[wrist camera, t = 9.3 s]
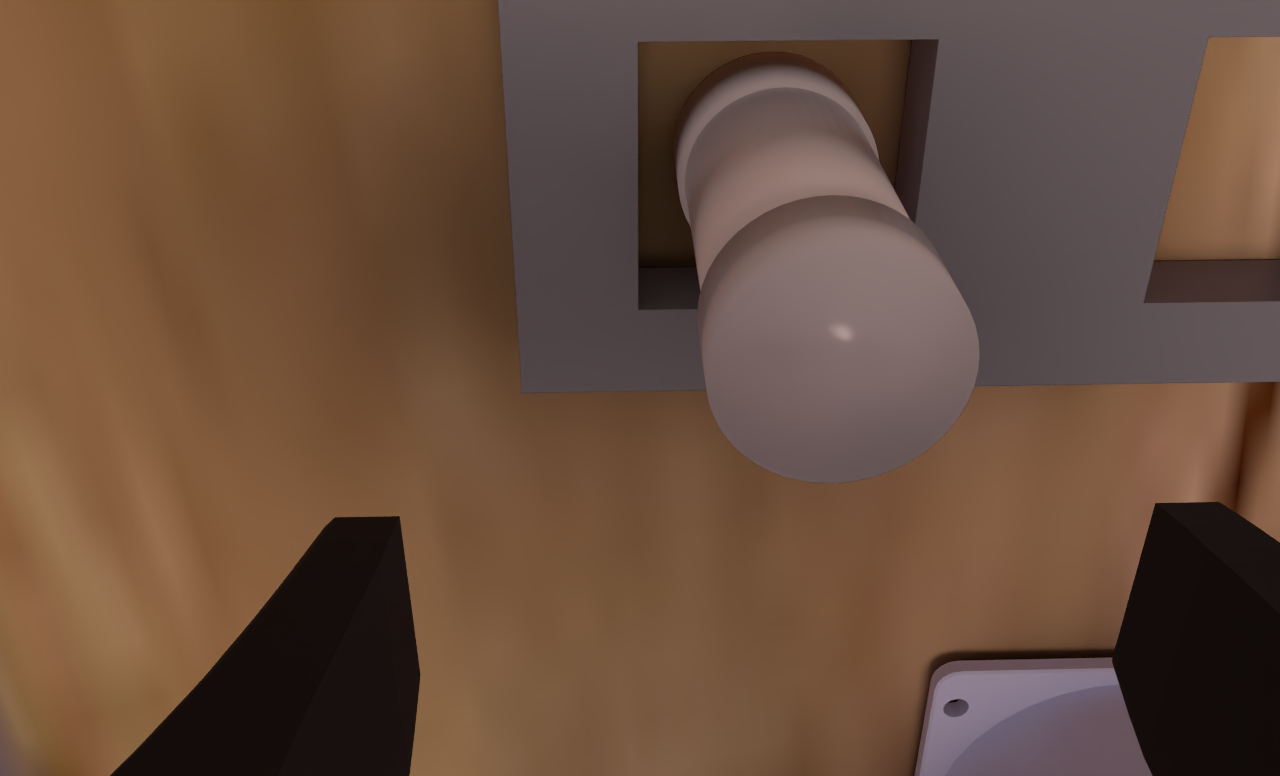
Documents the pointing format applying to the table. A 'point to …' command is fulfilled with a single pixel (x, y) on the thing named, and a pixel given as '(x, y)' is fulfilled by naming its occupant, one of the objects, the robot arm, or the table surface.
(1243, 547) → the robot arm
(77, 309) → the table surface
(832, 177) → the cylinder
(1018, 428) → the table surface
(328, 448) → the table surface
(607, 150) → the holder
